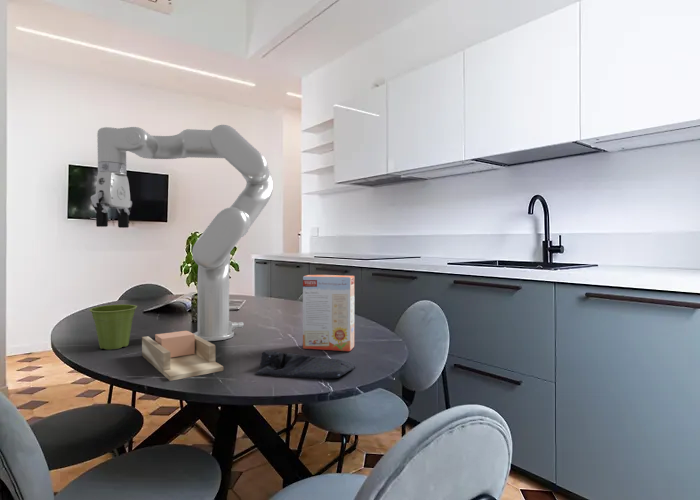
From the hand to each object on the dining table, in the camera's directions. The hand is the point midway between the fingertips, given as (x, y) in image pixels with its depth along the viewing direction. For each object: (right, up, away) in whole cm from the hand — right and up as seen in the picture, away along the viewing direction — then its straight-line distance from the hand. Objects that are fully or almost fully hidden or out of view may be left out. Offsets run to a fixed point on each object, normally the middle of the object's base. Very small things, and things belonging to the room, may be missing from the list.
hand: (113, 227), depth 128 cm
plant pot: (+4, -35, -7) cm, 36 cm away
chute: (+29, -35, -22) cm, 51 cm away
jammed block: (+27, -34, -19) cm, 47 cm away
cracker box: (+65, -35, -7) cm, 75 cm away
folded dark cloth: (+61, -36, -27) cm, 76 cm away
